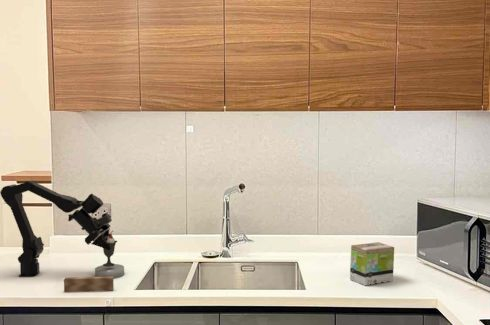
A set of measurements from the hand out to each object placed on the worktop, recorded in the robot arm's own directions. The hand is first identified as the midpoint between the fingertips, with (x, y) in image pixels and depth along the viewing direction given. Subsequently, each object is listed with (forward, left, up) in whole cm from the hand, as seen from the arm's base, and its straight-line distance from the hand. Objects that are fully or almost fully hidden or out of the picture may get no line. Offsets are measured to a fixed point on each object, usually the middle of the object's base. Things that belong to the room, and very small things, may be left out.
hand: (112, 247), depth 202 cm
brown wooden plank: (-5, -20, -12) cm, 24 cm away
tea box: (+108, -16, -12) cm, 110 cm away
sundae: (-1, 0, -8) cm, 8 cm away
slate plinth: (-1, 0, -12) cm, 12 cm away
